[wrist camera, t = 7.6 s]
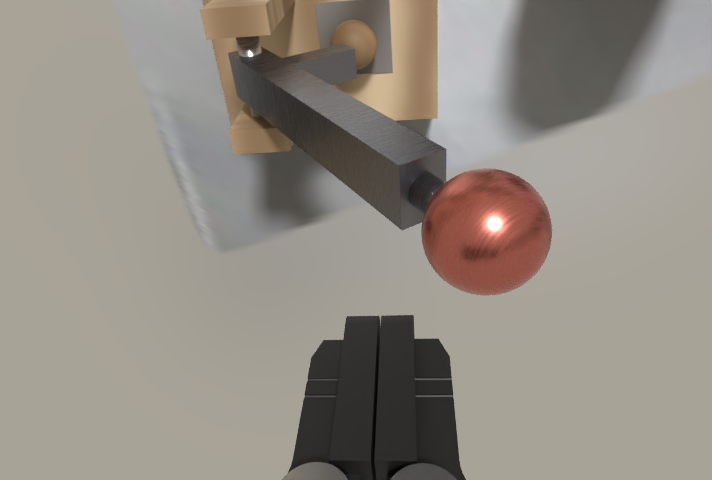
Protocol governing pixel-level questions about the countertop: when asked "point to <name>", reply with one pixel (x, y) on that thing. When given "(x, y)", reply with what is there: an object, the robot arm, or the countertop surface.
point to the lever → (399, 169)
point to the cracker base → (324, 29)
